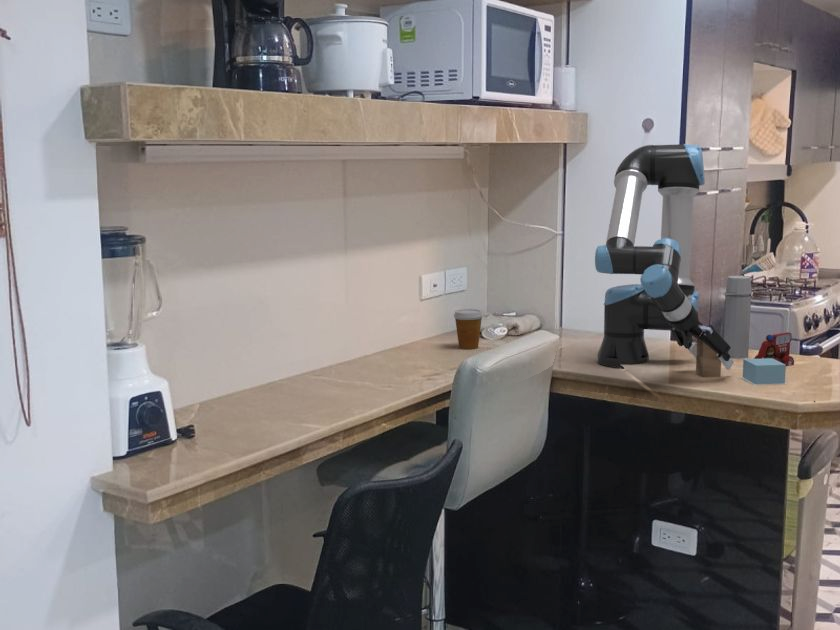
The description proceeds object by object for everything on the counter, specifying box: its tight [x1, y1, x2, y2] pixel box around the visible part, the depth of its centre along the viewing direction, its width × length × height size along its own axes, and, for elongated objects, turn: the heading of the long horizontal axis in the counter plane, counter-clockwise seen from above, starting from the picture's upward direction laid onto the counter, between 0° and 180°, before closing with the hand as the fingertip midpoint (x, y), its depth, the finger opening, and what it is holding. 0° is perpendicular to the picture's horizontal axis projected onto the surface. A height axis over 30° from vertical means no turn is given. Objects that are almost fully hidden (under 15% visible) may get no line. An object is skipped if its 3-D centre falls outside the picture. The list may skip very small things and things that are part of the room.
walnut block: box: [695, 339, 722, 378], centre depth 249 cm, size 5×5×10 cm
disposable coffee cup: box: [453, 308, 484, 350], centre depth 296 cm, size 10×10×12 cm
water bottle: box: [719, 275, 752, 359], centre depth 272 cm, size 9×8×25 cm
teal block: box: [742, 358, 787, 385], centre depth 242 cm, size 8×8×5 cm
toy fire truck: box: [753, 331, 795, 367], centre depth 260 cm, size 7×12×10 cm, turn 119°
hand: (716, 362), depth 251 cm, fingers open, 9 cm apart
